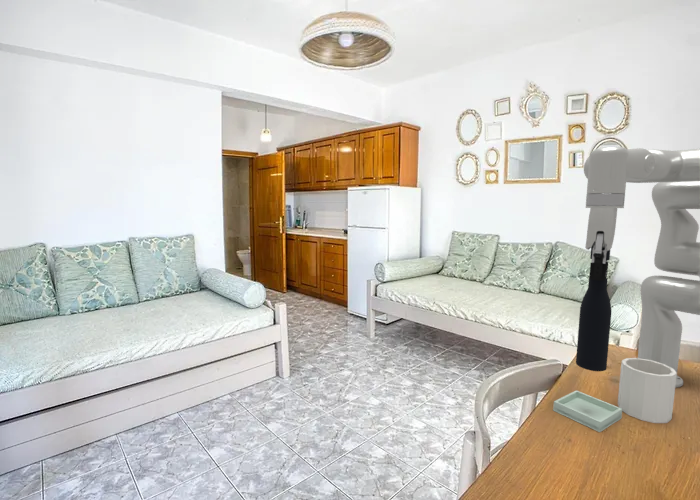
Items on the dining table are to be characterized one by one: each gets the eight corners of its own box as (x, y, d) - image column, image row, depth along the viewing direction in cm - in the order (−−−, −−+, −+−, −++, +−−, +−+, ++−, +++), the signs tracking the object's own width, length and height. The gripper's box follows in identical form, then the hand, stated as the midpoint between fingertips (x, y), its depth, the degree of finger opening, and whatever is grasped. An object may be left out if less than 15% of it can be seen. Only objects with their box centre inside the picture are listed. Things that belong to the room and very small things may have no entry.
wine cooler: (628, 396, 104) (633, 355, 103) (677, 414, 95) (682, 369, 94) (610, 407, 98) (614, 363, 97) (660, 427, 90) (665, 379, 88)
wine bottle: (611, 372, 90) (622, 247, 86) (581, 370, 91) (591, 246, 88) (599, 361, 96) (609, 244, 92) (571, 359, 97) (580, 244, 94)
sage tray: (575, 398, 103) (576, 390, 102) (621, 418, 94) (622, 408, 93) (553, 410, 97) (553, 401, 97) (599, 432, 88) (600, 422, 87)
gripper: (589, 202, 98) (584, 271, 100) (581, 201, 84) (575, 282, 87) (625, 202, 93) (618, 275, 95) (622, 201, 80) (615, 286, 82)
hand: (598, 277), depth 91 cm, fingers closed on wine bottle, 3 cm apart
